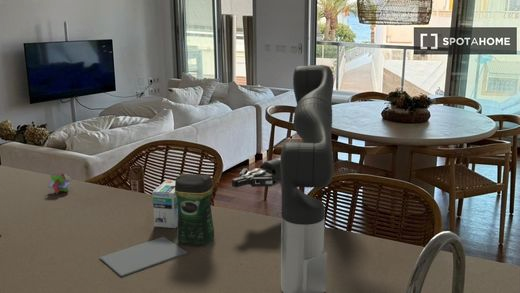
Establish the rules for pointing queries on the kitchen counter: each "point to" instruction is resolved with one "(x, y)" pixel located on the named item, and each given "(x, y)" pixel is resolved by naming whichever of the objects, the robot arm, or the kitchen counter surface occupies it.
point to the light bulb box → (165, 205)
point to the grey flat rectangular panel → (142, 256)
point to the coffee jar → (194, 209)
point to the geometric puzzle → (60, 183)
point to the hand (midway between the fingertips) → (233, 183)
